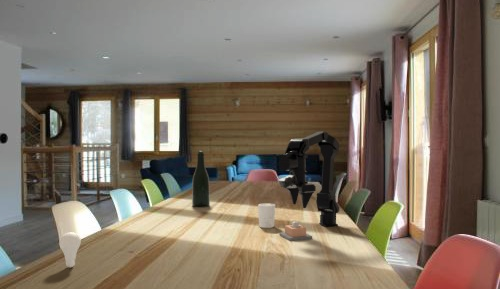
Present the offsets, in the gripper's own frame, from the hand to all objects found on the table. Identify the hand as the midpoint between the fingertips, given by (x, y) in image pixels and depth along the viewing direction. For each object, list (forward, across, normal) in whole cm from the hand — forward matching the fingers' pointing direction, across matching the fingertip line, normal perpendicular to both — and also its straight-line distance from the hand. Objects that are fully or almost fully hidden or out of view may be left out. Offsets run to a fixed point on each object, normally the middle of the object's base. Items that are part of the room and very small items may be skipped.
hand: (299, 206), depth 167 cm
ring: (+11, +4, -4) cm, 12 cm away
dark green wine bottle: (+12, -86, -23) cm, 89 cm away
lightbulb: (+10, +14, -87) cm, 88 cm away
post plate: (+12, +4, -4) cm, 13 cm away
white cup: (+12, -18, -8) cm, 23 cm away
